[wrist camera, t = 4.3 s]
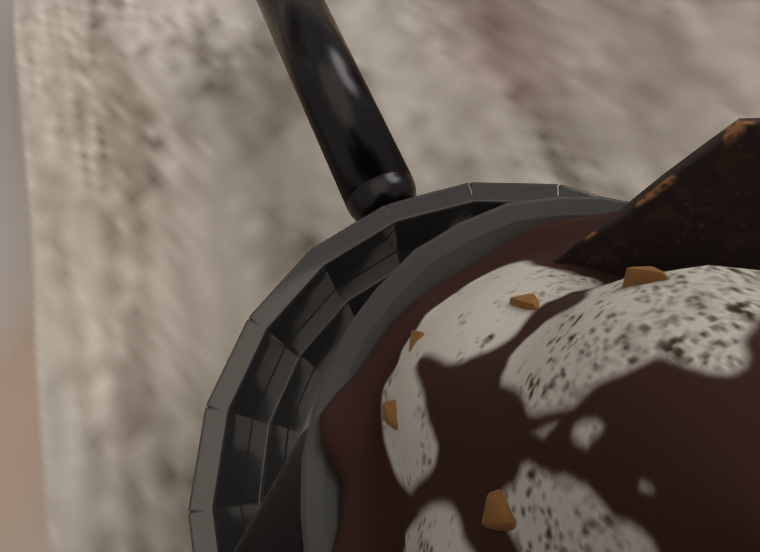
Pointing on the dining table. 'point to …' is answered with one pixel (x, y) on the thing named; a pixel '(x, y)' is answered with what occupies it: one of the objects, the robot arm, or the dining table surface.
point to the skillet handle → (338, 106)
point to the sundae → (556, 379)
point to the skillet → (309, 350)
